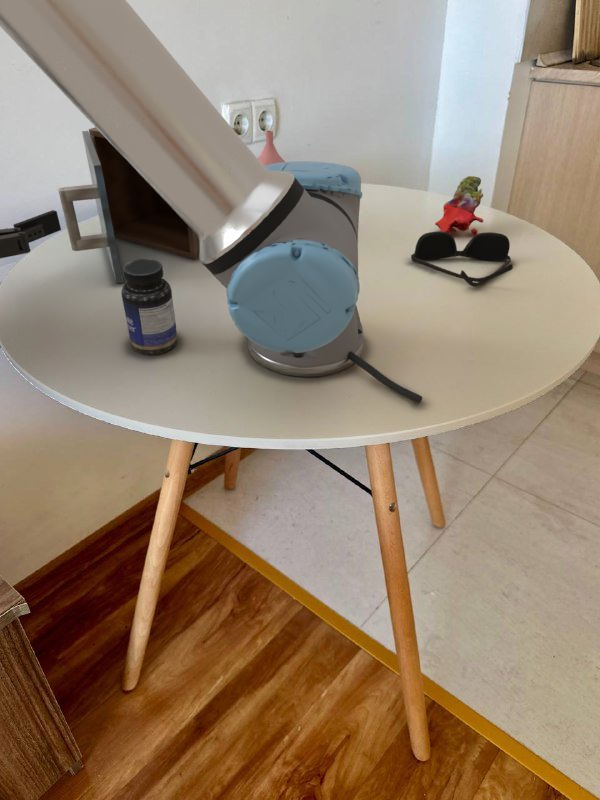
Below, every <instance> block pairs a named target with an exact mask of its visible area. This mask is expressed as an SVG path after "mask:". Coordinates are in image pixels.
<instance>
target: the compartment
mask: <svg viewBox="0 0 600 800" xmlns="http://www.w3.org/2000/svg"><path fill="white" fill-rule="evenodd" d="M232 129H233V130H234V131H235V132H236V133H237V135H238V136H239V128H237V127H232ZM88 132H89V134H90V137H91V140H92V142H93V145H94V148H95V150H96V153H97V155H98V158H99V161H100V163H101V167H102V172H103V178H104V183H105V188H106V194H107V199H108V204H109V210H110V215H111V221H112V226H113V231H114V237H115V238H118V239H121V240H124V241H128V242H130V243H135V244H137V245H142V246H146V247H149V248H152V249H155V250H160V251H163V252H167V253H169V254H174V255H177V256H180V257H184V258H187V259H189V260H190V259H191V260H194V261H196V260H198V259H199V238H198V235H197V234H196V233H195V232H194V231H193V230H192V229H191V228H190V227H189V225H188V224H187V223H186V222H185V221H184V220H183V219H182V218H181V217H180V216H179V215H178V214H177V213H176V212H175V211H174V210H173V209H172V208H171V206H170V205H169V204H168V203H167V202H166V201H165V200H164V199H163V198H162V197H161V196H160V195H159V194H158V193H157V192H156V191H155V190H154V188H153V187H152V186H151V185H150V184H149V183H148V182H147V181H146V180H145V179H144V178H143V177H142V176H141V175H140V174H139V173H138V172H137V170H136V169H135V168H134V167H133V166H132V165H131V164H130V163H129V162H128V161H127V160H126V159H125V158H124V157H123V156H122V155H121V154H120V153H119V151H118V150H117V149H116V148H115V147H114V146H113V145H112V144H111V143H110V142H109V141H108V140H107V139H106V138H105V137H104V136H103V135H102V133H101V132H100V131H99V130H98V129H97V128H96V127H95V126H94V127H91V128H88ZM239 137H240V136H239Z"/></svg>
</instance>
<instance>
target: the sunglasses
mask: <svg viewBox="0 0 600 800" xmlns="http://www.w3.org/2000/svg"><path fill="white" fill-rule="evenodd" d="M509 239H510V238H509V237H507V235H505V234H503V233H499V232H493V231H492V232H489V231H488V232H479V233H477V234H476V235H473V236H472V237H471V239H470V240H469V241H468V243H467V244H466V246H465V247H464V248H463V250H458V249H457V248H458V247H457V243H456V240H455V238H454V237H453V235H452V233H447V232H440V231H430V232H425V233H423V234H422V235H421V236H420V237H418V240H417V242H416V244H415V248H414V252H413V254H411V255H410V259H411V261H412V262H414V263H417V264H418V265H421V266H424V267H427V268H429V269H432V270H434V271H437V272H440V273H443V274H445V275H448V276H452V277H455V278H457V279H462V280H464V281H465V282H466V283H467V284H468V285H469V286H470V287H473V288H477V287H479V286H482V285H483V284H485V283H487V282H489V281H490V280H492V279H495V278H496V277H498V276H499V277H500V276H501V275H503V274H506V273H508V272H510V271H512V270H513V269H514V266H513V265H514V264H513V263H511V261H512V259H511V256H510V255H509V253H510V246H511V244H510V240H509ZM455 257H462V258H469V259H472V260H478V261H486V262H487V261H488V262H505V263H503V265H501V266H500V267H499V268H498V269H496V270H495V271H494V272H492V273H490V274H489V275H486V276H483V277H472V276H469V275H468V274H467V273H466V272H465V271H464V270H461V271H460V273H457V272H455V271H451V270H449V269H446V268H443V267H441V266H438V265H435V264H433V263H430V262H427V261H435V260H436V261H437V260H442V259H443V260H444V259H449V258H455Z"/></svg>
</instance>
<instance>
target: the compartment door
mask: <svg viewBox="0 0 600 800" xmlns="http://www.w3.org/2000/svg"><path fill="white" fill-rule="evenodd" d="M81 134H82V139H83V144H84V150H85V153H86V154H85V155H86V160H87V165H88V169H89V174H90V180H91V184H83V185H72V186H64V187H59V188H58V189H57V190H58V195H59V200H60V204H61V209H62V212H63V217H64V221H65V224H66V225H65V226H66V229H67V234H68V238H69V242H70V247H71V250H72V251H74V252H80V251H89V250H95V249H104V248H105V249H106V252H107V255H108V259H109V263H110V267H111V270H112V273H113V276H114V280H115V283H116V284H120V283H123V281H124V280H123V276H122V275H123V274H122V270H121V269H122V268H121V263H120V259H119V254H118V253H119V252H118V248H117V243H116V237H114V231H113V226H112V221H111V215H110V210H109V204H108V199H107V194H106V188H105V183H104V178H103V172H102V167H101V163H100V161H99V158H98V155H97V153H96V150H95V148H94V145H93V142H92V140H91V137H90V134H89V130H82V131H81ZM87 200H95V204H96V205H95V206H96V209H97V214H98V219H99V220H98V221H99V225H100V230H101V233H98V234H97V233H96V234H90V235H83V236H81V232H80V227H79V222H78V219H77V214H76V210H75V205H74V202H79V201H80V202H81V201H87Z"/></svg>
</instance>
